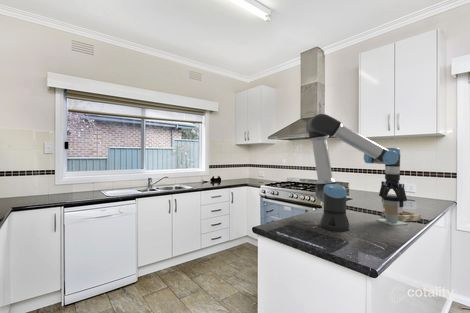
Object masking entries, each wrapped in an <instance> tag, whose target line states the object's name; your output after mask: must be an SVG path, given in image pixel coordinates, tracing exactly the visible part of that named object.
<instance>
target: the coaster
mask: <svg viewBox="0 0 470 313" xmlns="http://www.w3.org/2000/svg"><path fill="white" fill-rule="evenodd" d="M376 221H377V222H380V223H383V224H387V225H389V226H392V227H393V226H394V227H395V226H405V225H407V226H408V224H409V223H407V222H401V221H398V222H397V223H392V222H387V221H386V218H378V219H376Z"/></svg>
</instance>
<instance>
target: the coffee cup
mask: <svg viewBox="0 0 470 313" xmlns="http://www.w3.org/2000/svg"><path fill="white" fill-rule="evenodd" d="M383 200H384V208H385V209H384V211H385V215H386V217H385V219H386V221H387V222H392V223H397V222H398V215H399V213H397V201H399V200H398V198H397V196H396V195H391V194H390V195H388V194H387V195H386V196H384V197H383Z"/></svg>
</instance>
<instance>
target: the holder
mask: <svg viewBox="0 0 470 313" xmlns="http://www.w3.org/2000/svg"><path fill="white" fill-rule="evenodd" d="M382 216H383V217H385V218H386V215H385V210H383V211H382ZM421 217H422V216H421V214H418V213H415V212H410V211H407V210H403V209H402V213H399V215H398V221H401V222H405V223H407V222H420V221H422V220H421V219H422V218H421Z"/></svg>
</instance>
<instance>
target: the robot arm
mask: <svg viewBox="0 0 470 313" xmlns="http://www.w3.org/2000/svg"><path fill="white" fill-rule="evenodd" d="M305 129H306V130H305V131H306V132H307V135H308V139H309V141H311V144H312V149H313V156H314V161H315V162H314V163H315V169H316V170H315V171H316V176H317V180H316V182H315V192H314V193H315V196H316V197H317V199H318V200H319V201H320V203H321V202H322V203H323V212H322V213H323V214H322V215H321V219H320V221H319V222H320V223H319V226H320V227H321V228H322V229H325V230H328V231H331V232H332V231H333V232H347V231H350V222H349V219H348V216H347V188H346V187H345V186H344V185H341V184H338V183H337V182H336V180H335V179H334V177H333V173H332V167H331V158H330V153H329V145H328V139H329V137H330V138H333V137H334V138H335V139H338V140H339V141H341V142H343V143H345V144H347V145H349V146H351V147H353V148H354V149H356V150H358V151H360V152H362V153H363V161H364V163H365V164H377V165H378V164H379V165H384V173H385V174H384V179H385V180H384V181H383V180H382V181H381V184H380V190H379V193H378V196H379V197H380V198H381V203H382V205H381V206H382V209H384V210H385V208H384V200H383V197H384V196H386V195H388V194H389V192H390V191H391V190H393V192H394V193H395V196H397V198H398V200H399V201H397V213H402V210H403V208H404V202H407V201H408V199H407V194H406V191H405V184H404V183H401V182H400V181H401V175H400V173H401V157H402V156H401V149H400V148H399V147H386V148H385V147H383V146H381V145H380V144H378V143H376V142H375V141H372V140H370V139H368V138H367V137H365V136H363V135H361V134H359V133H357V132H356V131H354V130H352V129H350V128H348V127H346V126H345V125H343V124H342V122H341V121H339V120H337V119H336V118H334V117H332V116H330V115H328V114H327V113H318V114H316V115H314V116H313V117H311V118H309V119H308V121H307V122H306V125H305Z"/></svg>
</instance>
